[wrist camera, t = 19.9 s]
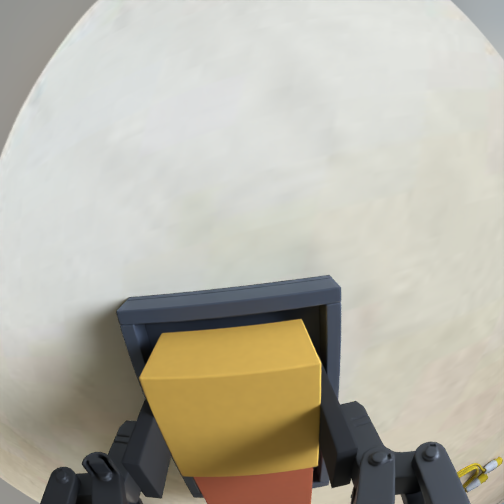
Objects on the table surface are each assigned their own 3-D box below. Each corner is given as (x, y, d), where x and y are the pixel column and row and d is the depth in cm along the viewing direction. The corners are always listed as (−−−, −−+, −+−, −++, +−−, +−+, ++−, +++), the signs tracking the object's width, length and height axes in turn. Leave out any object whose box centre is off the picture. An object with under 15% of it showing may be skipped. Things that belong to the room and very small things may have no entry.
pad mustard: (161, 332, 14) (137, 378, 10) (301, 317, 14) (321, 362, 10) (190, 428, 15) (182, 476, 11) (305, 418, 15) (317, 466, 12)
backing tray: (128, 297, 15) (115, 311, 13) (329, 274, 15) (341, 286, 13) (195, 480, 19) (193, 497, 17) (324, 468, 19) (329, 485, 17)
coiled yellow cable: (455, 499, 26) (459, 506, 24) (398, 515, 24) (402, 524, 22) (502, 453, 24) (507, 459, 22) (455, 465, 22) (461, 475, 20)
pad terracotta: (195, 423, 17) (188, 468, 13) (302, 413, 17) (313, 458, 13) (215, 476, 18) (213, 515, 14) (302, 468, 18) (310, 506, 14)
